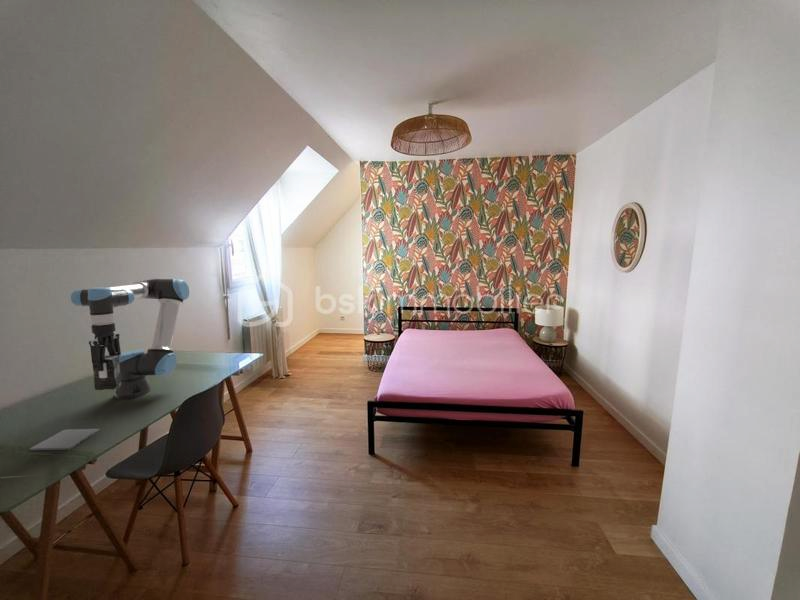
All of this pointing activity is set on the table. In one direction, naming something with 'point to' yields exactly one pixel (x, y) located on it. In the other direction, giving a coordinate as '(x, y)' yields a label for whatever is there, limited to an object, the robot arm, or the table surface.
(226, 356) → the table surface
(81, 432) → the slate pad
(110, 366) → the stone block
